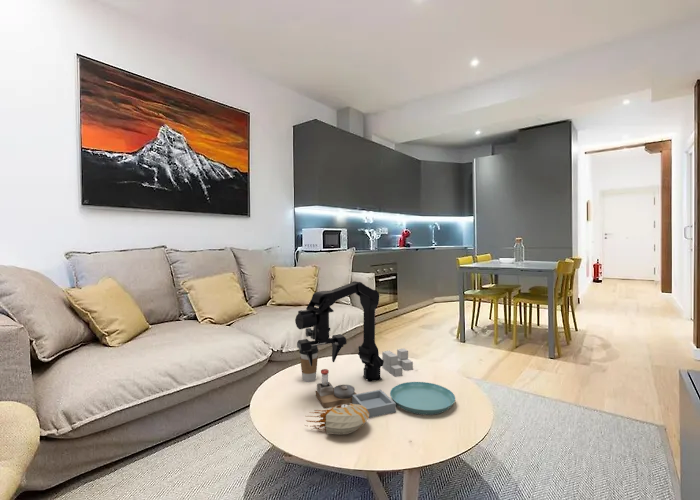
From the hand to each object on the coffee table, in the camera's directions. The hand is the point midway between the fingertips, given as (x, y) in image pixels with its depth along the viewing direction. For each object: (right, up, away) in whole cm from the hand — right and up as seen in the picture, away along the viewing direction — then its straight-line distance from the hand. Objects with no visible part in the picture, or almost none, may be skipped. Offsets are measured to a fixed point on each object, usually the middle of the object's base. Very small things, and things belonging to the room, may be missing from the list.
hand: (322, 363), depth 141 cm
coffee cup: (-7, -12, +17) cm, 22 cm away
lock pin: (+1, -11, -1) cm, 11 cm away
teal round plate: (+38, -14, -4) cm, 41 cm away
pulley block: (+6, -13, -1) cm, 14 cm away
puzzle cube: (+34, -12, +27) cm, 45 cm away
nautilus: (+6, -15, -22) cm, 27 cm away
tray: (+19, -13, -9) cm, 25 cm away
